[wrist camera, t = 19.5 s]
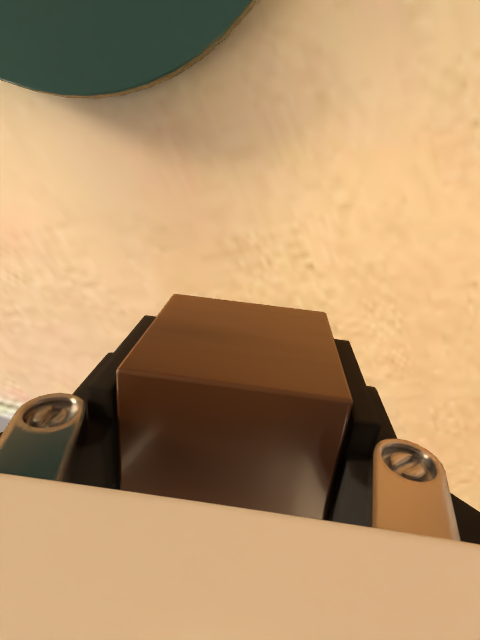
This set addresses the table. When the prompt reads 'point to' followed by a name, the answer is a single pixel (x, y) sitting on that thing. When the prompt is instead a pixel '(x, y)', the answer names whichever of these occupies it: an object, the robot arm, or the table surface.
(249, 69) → the table surface
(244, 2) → the lid
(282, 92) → the table surface
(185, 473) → the block
